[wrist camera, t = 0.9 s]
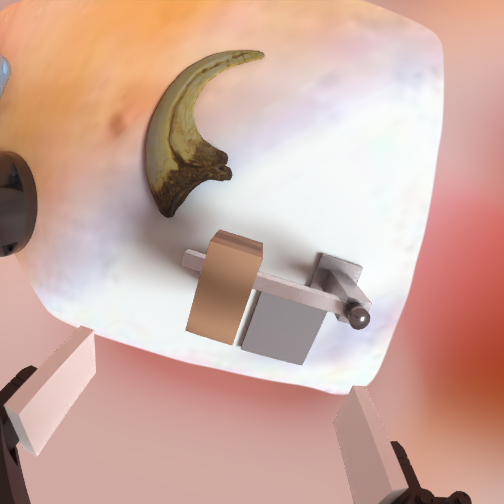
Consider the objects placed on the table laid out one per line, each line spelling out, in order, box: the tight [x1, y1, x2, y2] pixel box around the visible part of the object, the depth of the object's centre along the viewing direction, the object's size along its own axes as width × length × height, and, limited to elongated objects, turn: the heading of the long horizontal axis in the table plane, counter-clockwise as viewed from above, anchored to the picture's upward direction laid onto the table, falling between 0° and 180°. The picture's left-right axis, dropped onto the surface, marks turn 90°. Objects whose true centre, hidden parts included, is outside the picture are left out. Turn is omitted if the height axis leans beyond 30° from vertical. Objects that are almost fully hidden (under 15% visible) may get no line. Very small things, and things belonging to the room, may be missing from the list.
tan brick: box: [185, 229, 263, 345], centre depth 28 cm, size 8×4×11 cm, turn 162°
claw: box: [145, 50, 264, 218], centre depth 29 cm, size 20×10×3 cm, turn 168°
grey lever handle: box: [181, 249, 372, 330], centre depth 28 cm, size 18×5×10 cm, turn 72°
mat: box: [241, 291, 327, 365], centre depth 35 cm, size 8×8×1 cm
